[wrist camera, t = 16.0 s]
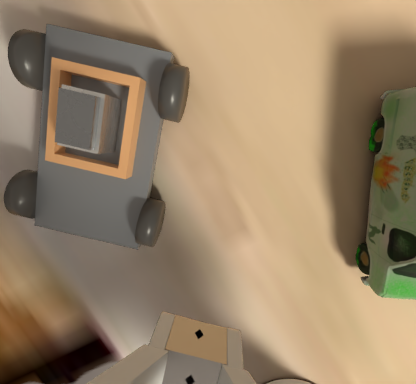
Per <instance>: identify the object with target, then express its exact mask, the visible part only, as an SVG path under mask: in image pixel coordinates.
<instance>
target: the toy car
mask: <svg viewBox="0 0 416 384" xmlns="http://www.w3.org/2000/svg"><path fill="white" fill-rule="evenodd" d="M390 93H391V94H390ZM386 94H388V95H387V96H386ZM385 96H386V97H385ZM384 98H385V99H384ZM380 99H381V100H382V99H384V100H383V103H382V107H381V112H380V113H381V114H382V115H383V117H384V118H381V119H378V120H376V121H375V122H374V124H373V126H372V129H371V137H370V140H369V150H370V151H372V152H379V153H378V154H377V155H375V159H374V165H373V172H372V179H371V187H370V200H369V212H368V224H367V235H366V243H364V244H361V245H359V246H358V248H357V253H356V261H357V265H358V267H359V269H360V270H361V272H363V273H364V274H367V275H369V277H368V276H365V277H361V280H362V282H363V283H364V284H365V285H368V286H370V287H371V288H372V290H373V291H374V292H375V293H376V294H377V295H378V296H381V297H385V298H397V299H416V87H412V88H408V89H400V90H389V91H385V93H384V94H383V95H381V97H380Z"/></svg>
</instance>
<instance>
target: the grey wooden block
mask: <svg viewBox="0 0 416 384" xmlns="http://www.w3.org/2000/svg"><path fill="white" fill-rule="evenodd" d="M121 101H122V100H119V99H117V98H114V97H111V96H108V95H105V94H101V93H97V92H93V91H89V90H84V89H80V88H76V87H72V86H67V85H63V84H62V87H61V88H59V90H58V103H57V116H56V130H55V142H57V145H61V146H65V147H69V148H73V149H78V150H82V151H86V152H90V153H95V154H104V153H110V152H115V146H116V138H117V131H118V123H119V116H120V108H121Z"/></svg>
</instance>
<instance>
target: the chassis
mask: <svg viewBox="0 0 416 384" xmlns="http://www.w3.org/2000/svg"><path fill="white" fill-rule="evenodd" d="M8 60H9V64H10V67H11V70H12V72H13V74H14V76H15V77H16V79H17V80H18V81H19V82H20V83H21V84H23V85H24V86H26V87H29V88H33V89H37V90H41V91H43V92H42V109H41V125H40V142H39V159H38V172H37V171H32V170H23V171H21V172H19V173H17V174H16V175H15V176H14V177H13V178H12V179H11V180H10V181H9V183H8V185H7V187H6V190H5V193H4V204H5V207H6V209H7V210H8V211H9V212H10V213H12V214H14V215H18V216H23V217H27V218H35V226H40V227H44V228H48V229H52V230H57V231H61V232H65V233H69V234H73V235H78V236H82V237H86V238H90V239H95V240H99V241H103V242H107V243H112V244H116V245H120V246H124V247H129V248H133V249H137V250H138V249H139V247H140V246H141V245H146V246H150V247H153V246H154V245H155V243H156V241H157V239H158V237H159V234H160V231H161V227H162V224H163V219H164V214H165V202H164V201H160V200H156V199H151V198H150V193H151V187H152V182H153V176H154V170H155V164H156V159H157V153H158V147H159V142H160V136H161V130H162V125H163V119H165V120H169V121H174V122H180V120H181V118H182V116H183V113H184V110H185V106H186V101H187V96H188V89H189V68H188V67H185V66H181V65H176V64H173V62H174V56H173V54H172V53H171V52H166V51H162V50H158V49H153V48H149V47H145V46H141V45H136V44H132V43H128V42H123V41H119V40H115V39H110V38H106V37H102V36H98V35H93V34H89V33H85V32H80V31H76V30H72V29H68V28H63V27H59V26H55V25H50V24H47V25H46V34H43V33H39V32H35V31H30V30H26V29H22V30H19V31H17V32H15V33H14V34H13V36H12V37H11V39H10V42H9V46H8ZM62 84H63V85H67V86H72V87H76V88H80V89H84V90H89V91H93V92H97V93H101V94H105V95H108V96H111V97H114V98H117V99H119V100H122V101H121V108H120V116H119V123H118V131H117V138H116V146H115V152H110V153H104V154H95V153H90V152H86V151H82V150H78V149H73V148H69V147H65V146H61V145H57V142H55V130H56V116H57V103H58V90H59V88H61V87H62Z"/></svg>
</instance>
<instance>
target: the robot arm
mask: <svg viewBox="0 0 416 384" xmlns="http://www.w3.org/2000/svg"><path fill="white" fill-rule="evenodd" d="M87 384H256V382H255V381H254V379H253V378H252V376H251V375H250V373H249V372H248V371H247V370H244V367H243V354H242V341H241V332H240V330H236V329H232V328H226V327H221V326H217V325H213V324H209V323H205V322H201V321H197V320H194V319H190V318H186V317H183V316H179V315H175V314H171V313H167V312H162V313H161V315H160V317H159V320H158V322H157V325H156V327H155V330H154V332H153V335H152V338H151V340H150V343H149V345H143V346H141V347H140V348H138V349H137V350H135V351H134V352H133V353H131V354H130V355H128V356H127V357H125V358H124V359H122V360H121V361H119V362H118V363H116V364H115V365H113V366H112V367H110V368H109V369H107V370H106V371H104V372H103V373H101V374H100V375H99V376H97V377H96V378H94V379H93V380H91V381H90V382H88V383H87ZM266 384H311V383H309V382H306V381H302V380H297V379H280V380H275V381H272V382H269V383H266Z"/></svg>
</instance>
